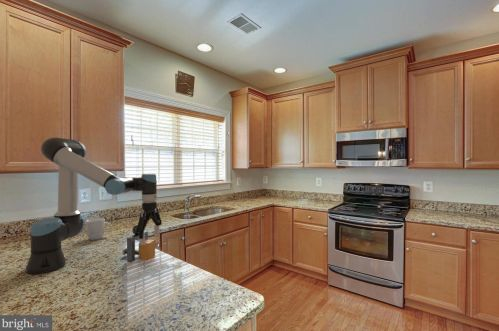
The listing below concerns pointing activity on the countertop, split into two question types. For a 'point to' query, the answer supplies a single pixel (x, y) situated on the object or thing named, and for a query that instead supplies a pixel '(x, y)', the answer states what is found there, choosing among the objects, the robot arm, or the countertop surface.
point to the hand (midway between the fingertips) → (150, 240)
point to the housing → (133, 244)
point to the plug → (144, 250)
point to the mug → (96, 228)
